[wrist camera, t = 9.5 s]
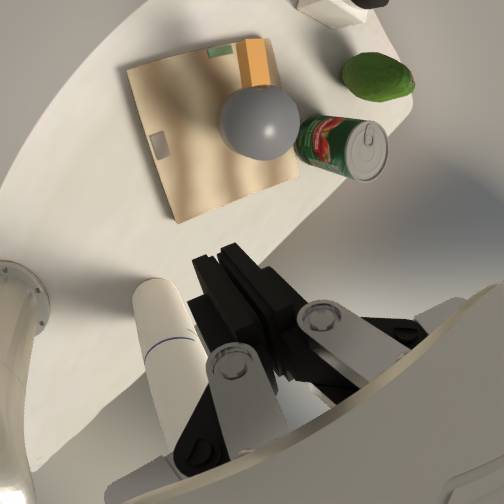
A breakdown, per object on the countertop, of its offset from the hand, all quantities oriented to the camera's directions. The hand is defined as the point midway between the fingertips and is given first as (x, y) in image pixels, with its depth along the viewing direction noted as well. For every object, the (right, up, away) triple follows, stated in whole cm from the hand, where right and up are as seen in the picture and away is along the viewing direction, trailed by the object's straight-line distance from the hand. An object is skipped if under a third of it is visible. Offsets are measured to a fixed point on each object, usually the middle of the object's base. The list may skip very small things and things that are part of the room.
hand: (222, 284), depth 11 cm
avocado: (+16, +29, +28) cm, 43 cm away
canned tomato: (+10, +18, +30) cm, 37 cm away
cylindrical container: (-13, -6, +30) cm, 33 cm away
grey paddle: (+1, +17, +18) cm, 25 cm away
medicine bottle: (+11, +38, +20) cm, 44 cm away
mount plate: (-3, +17, +23) cm, 29 cm away
